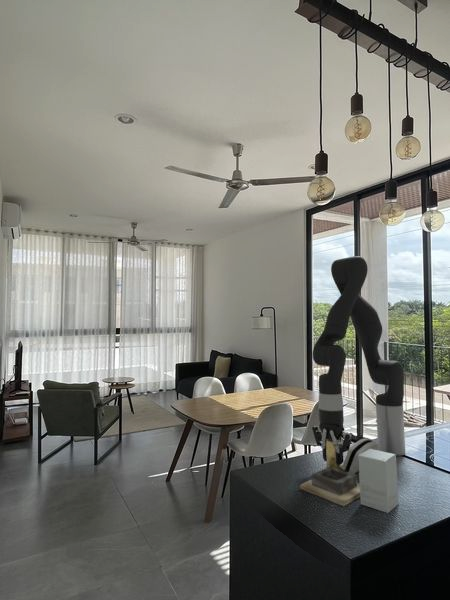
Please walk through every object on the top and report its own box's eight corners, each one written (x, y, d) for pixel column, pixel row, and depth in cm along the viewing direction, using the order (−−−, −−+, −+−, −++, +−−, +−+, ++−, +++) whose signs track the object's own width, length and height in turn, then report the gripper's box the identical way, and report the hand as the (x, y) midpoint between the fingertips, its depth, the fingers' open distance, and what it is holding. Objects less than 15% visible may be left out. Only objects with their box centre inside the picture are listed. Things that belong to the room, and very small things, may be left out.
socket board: (326, 476, 115) (326, 462, 115) (369, 491, 104) (368, 475, 104) (300, 489, 106) (299, 473, 107) (343, 506, 96) (343, 489, 96)
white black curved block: (360, 457, 131) (368, 432, 129) (373, 465, 128) (381, 439, 126) (336, 470, 119) (345, 442, 118) (350, 479, 116) (359, 451, 114)
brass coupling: (331, 469, 120) (330, 437, 121) (343, 472, 117) (341, 440, 118) (323, 472, 117) (322, 440, 118) (335, 476, 114) (334, 443, 115)
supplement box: (399, 503, 97) (397, 454, 98) (387, 514, 91) (385, 461, 92) (371, 495, 102) (369, 447, 103) (359, 504, 97) (357, 454, 98)
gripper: (357, 408, 116) (359, 465, 114) (319, 402, 126) (320, 454, 125) (344, 412, 111) (346, 472, 109) (305, 405, 121) (307, 459, 120)
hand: (332, 462), depth 117 cm, fingers closed on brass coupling, 4 cm apart
